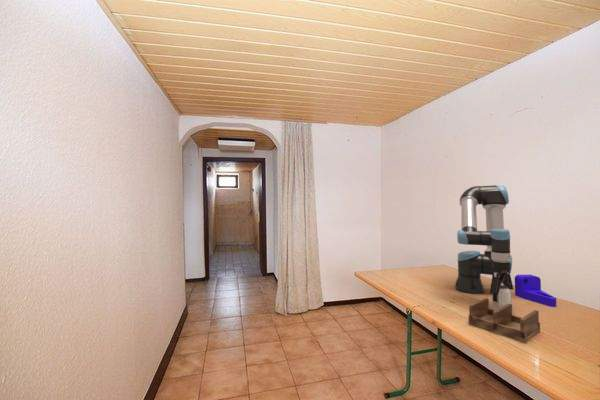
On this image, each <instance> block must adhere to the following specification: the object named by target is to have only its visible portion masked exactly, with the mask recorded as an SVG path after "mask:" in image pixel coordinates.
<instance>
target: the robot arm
mask: <svg viewBox="0 0 600 400" xmlns="http://www.w3.org/2000/svg"><path fill="white" fill-rule="evenodd" d="M509 203H510V199H509V192H508V190H507V188H506V186H505V185H497V184H495V185H494V184H493V185H474V186H470V187H469V188H468V189H466V190H464V191H463V193H462V194H461V195H460V197H459V205H460V206H461V207H460V208H461V225H460V226H461V229H460V230H457V243H458V244H459V245H469V246H470V245H471V246H486V249H485V250H484V251H483V252H484V253H481V252H480V251H478V250H467V251H466V250H465V251H460V252H459V253H458V254H457V278H456V281H455V284H454V289H455V288H456V289H455V290H457V291H459V292H462V293H467V294H473V295H474V294H476V295H478V294H479V295H480V294H484V293H485V286H484V284H483V283H484V282H483V281H482V277H481V275H490V276H491V281H490V283H491V284H490V288H489V294H492V295H491V296H492V297H491V298H492V299H491V300H492V305H491V306H492V308H493V309H494V308H496V309H499V308H500V295H498V294H499V290H500V287H501V285H502V284H503V286H506V287H509V290H510V301H511V302H512V290H514V286H513V280H512V277H511V272H512V267H513V257H512V255H511V233H510V230H509V229H505V225H504V223H505V221H504V210H505V208H506V207H507V205H508V204H509ZM478 205H481V206H482V208H483V210H485V224H486V225H485V226H486V227H485V228H486V229H485V230H486V231H485V230H478V218H477V206H478Z"/></svg>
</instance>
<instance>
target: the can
mask: <svg viewBox="0 0 600 400" xmlns="http://www.w3.org/2000/svg"><path fill="white" fill-rule="evenodd" d="M510 290H511V289H510ZM510 290H509V287H506V286H504V285H502V284H501V287H500V290H499V294H498V295H500V308H501V307H503V306H505V305H507V304H512V300H511V301H510ZM493 310H497V309H496V308H493Z"/></svg>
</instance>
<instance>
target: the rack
mask: <svg viewBox="0 0 600 400" xmlns="http://www.w3.org/2000/svg"><path fill="white" fill-rule="evenodd" d="M489 305H490V300H489V298H488V297H485V298H482V299H480V300H478V301H475V302H473V303H471V304H469V305H468V308H469V311H468V312H469V314H468V324H469V325H471V326H474V327H477V328H480V329H484V330H486V331H489V332H492V333H496V334H497V335H501V336H504V337H507V338H510V339H514V340H516V341H520V342H522V343H525V344H526V343H528V342H529V341H530V340H532V339H533V338H534V337H535V336H537V334H539V333H540V332H541V322H540V321H539V317H540V316H539V310H536V309H533V310H531V312H529V313H527V314H526V315H525V316H523V317H522V316H518V315H513V305H512V303H511V304H507V305H505V306H503V307H501V308H499V309H497V310H494V308H493V309H492V308H490V307H489Z"/></svg>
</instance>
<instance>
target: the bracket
mask: <svg viewBox="0 0 600 400" xmlns="http://www.w3.org/2000/svg"><path fill="white" fill-rule="evenodd" d="M541 283H542V282H541V278H540V277H539V276H536V275H533V274H516V275H515V276H514V295H515V297H518V298H520V299H524V300H527V301H530V302H534V303H537V304H540V305H544V306H547V307H550V308H556V306H557V297H555V296H554V295H552V294H550V293H549V292H548V293H547V292H546V291H544V290H542V285H541Z"/></svg>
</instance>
